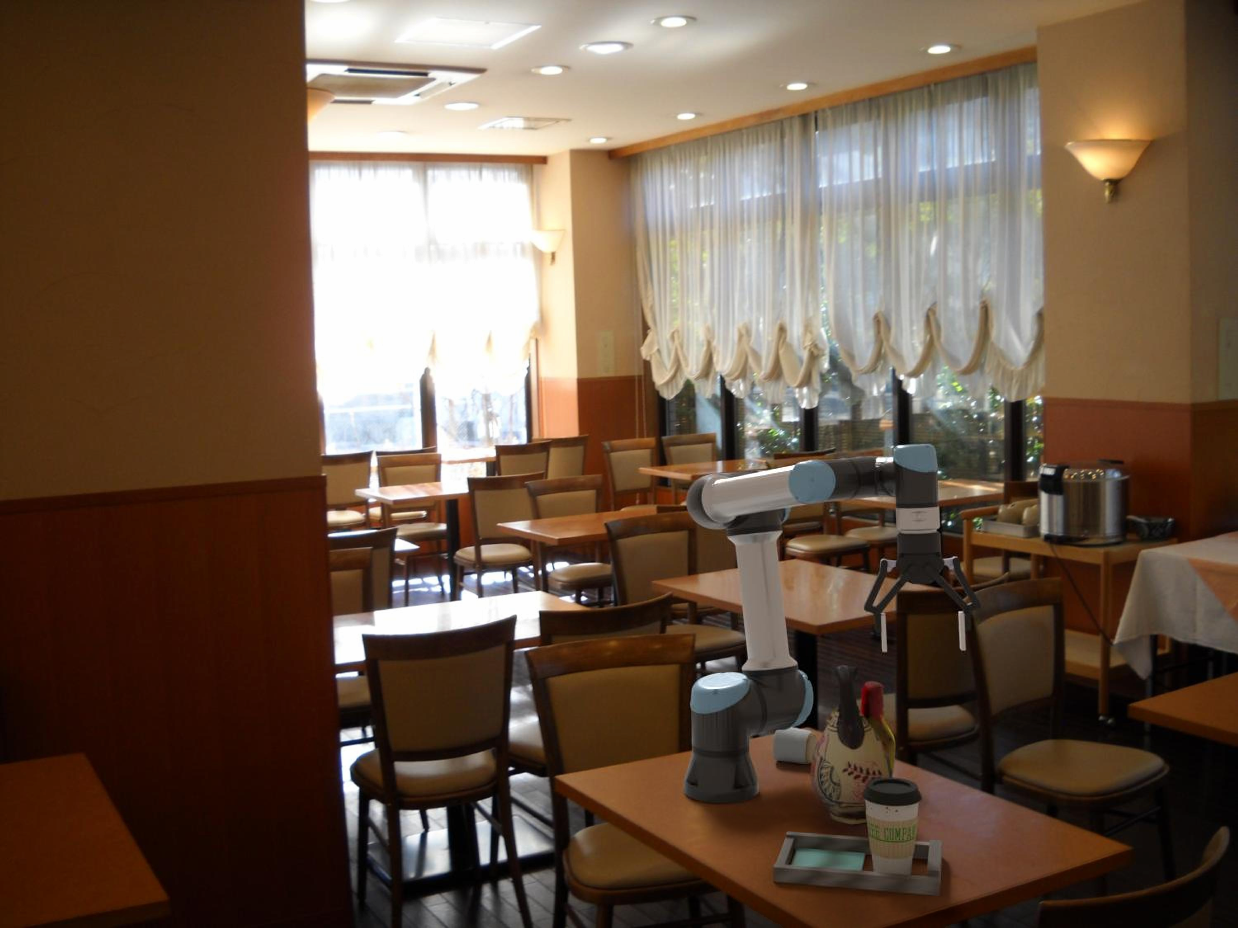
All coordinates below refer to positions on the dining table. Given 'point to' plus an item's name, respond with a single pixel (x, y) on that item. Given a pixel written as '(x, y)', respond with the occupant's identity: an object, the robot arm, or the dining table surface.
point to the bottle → (877, 716)
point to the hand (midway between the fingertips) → (923, 650)
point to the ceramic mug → (794, 745)
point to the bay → (851, 864)
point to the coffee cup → (892, 823)
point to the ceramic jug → (847, 756)
